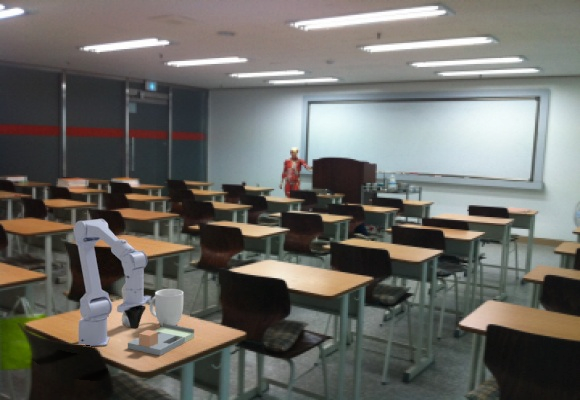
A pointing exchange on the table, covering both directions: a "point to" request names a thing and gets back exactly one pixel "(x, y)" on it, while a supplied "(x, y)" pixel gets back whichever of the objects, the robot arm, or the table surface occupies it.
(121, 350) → the table surface
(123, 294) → the plastic bottle
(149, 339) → the block
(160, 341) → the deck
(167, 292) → the mug
